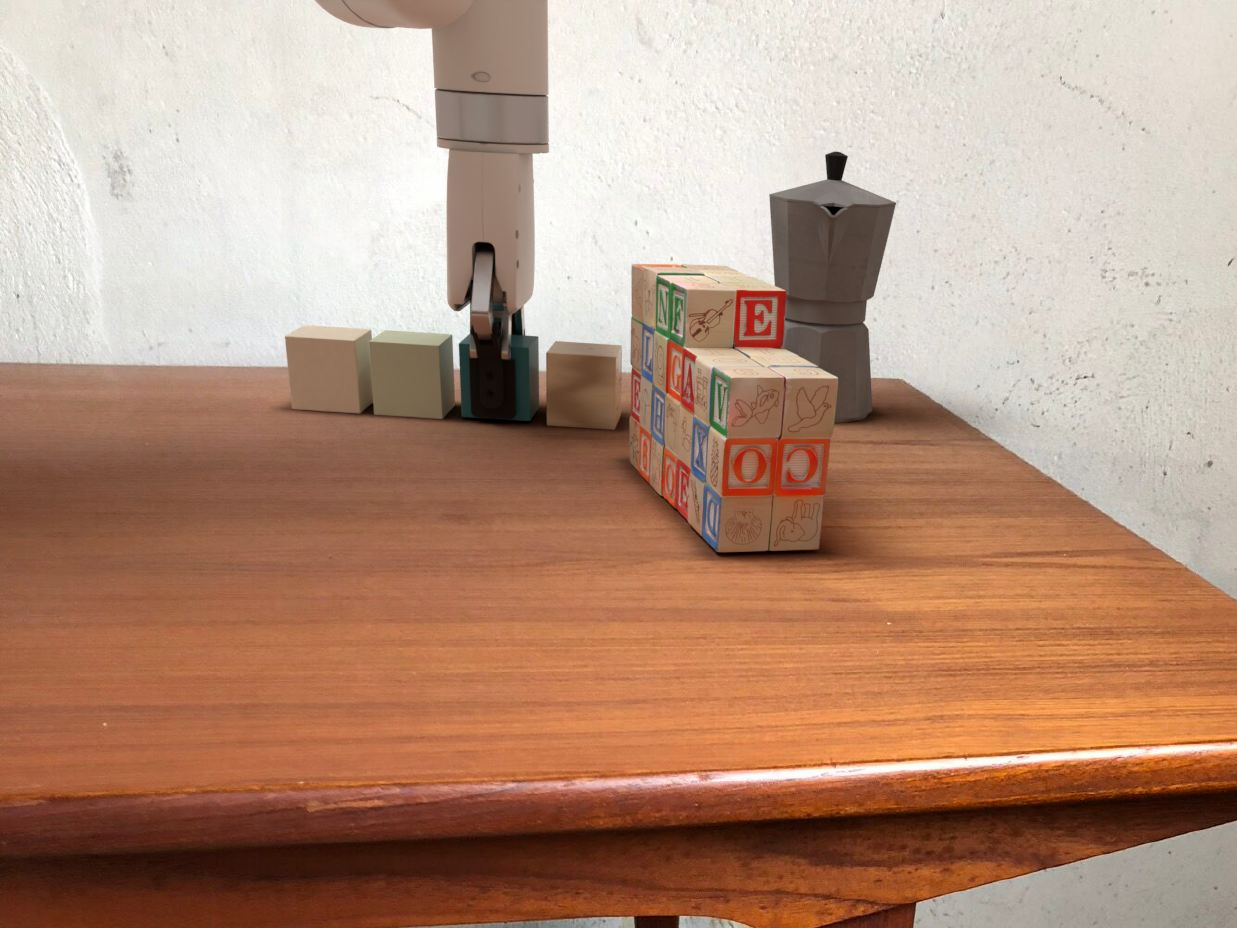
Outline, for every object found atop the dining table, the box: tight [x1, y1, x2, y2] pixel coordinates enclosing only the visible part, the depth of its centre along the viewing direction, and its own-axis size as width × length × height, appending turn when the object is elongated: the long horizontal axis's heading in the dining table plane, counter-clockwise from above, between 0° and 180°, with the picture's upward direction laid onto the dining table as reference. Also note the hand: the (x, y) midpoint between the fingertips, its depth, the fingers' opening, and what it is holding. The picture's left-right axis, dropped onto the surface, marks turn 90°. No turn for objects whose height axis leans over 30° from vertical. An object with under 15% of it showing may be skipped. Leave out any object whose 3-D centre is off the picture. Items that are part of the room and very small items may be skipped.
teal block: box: [458, 333, 540, 422], centre depth 102 cm, size 5×5×5 cm
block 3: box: [545, 340, 623, 431], centre depth 102 cm, size 5×5×5 cm
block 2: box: [369, 329, 456, 420], centre depth 102 cm, size 5×5×5 cm
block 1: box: [284, 324, 373, 415], centre depth 102 cm, size 5×5×5 cm
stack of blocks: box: [629, 263, 838, 553], centre depth 82 cm, size 21×6×12 cm, turn 16°
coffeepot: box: [768, 151, 897, 424], centre depth 107 cm, size 15×9×18 cm, turn 177°
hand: (500, 406), depth 103 cm, fingers closed on teal block, 5 cm apart
